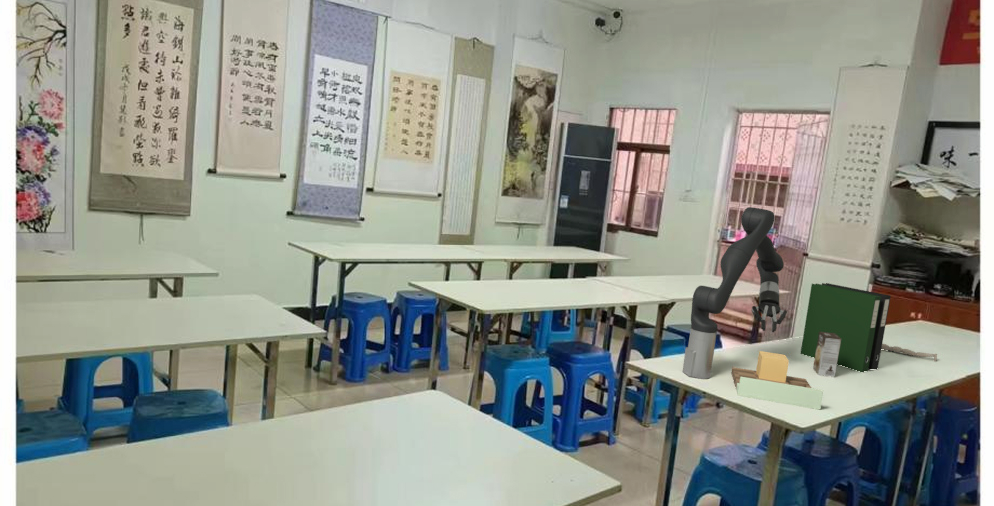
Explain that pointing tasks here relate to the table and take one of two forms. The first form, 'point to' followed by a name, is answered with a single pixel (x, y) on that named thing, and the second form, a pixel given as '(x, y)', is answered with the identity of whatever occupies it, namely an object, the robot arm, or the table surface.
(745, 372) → the board
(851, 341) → the binder
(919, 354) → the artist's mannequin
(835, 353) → the coffee box
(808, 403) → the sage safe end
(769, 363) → the ochre block
